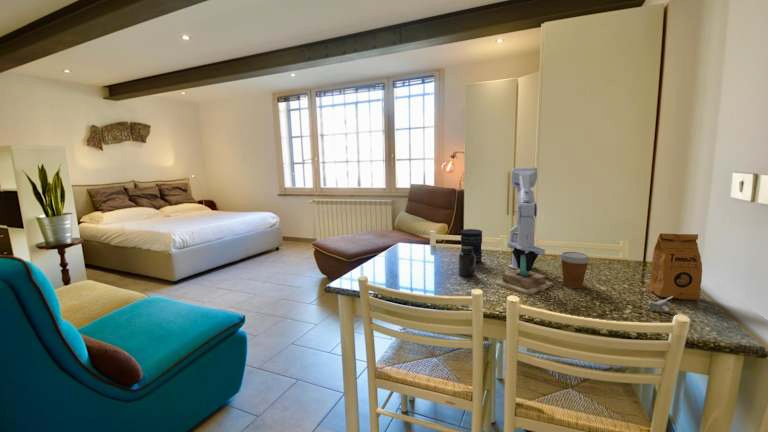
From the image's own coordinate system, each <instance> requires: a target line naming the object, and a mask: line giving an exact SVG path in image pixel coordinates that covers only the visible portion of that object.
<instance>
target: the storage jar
mask: <svg viewBox="0 0 768 432" xmlns="http://www.w3.org/2000/svg"><path fill="white" fill-rule="evenodd" d="M460 243H461V247H462V246H471V247H473V253H474V254H475V266H478V265H481V264H482V258H483V254H482V253H483V251H482V244H483V231H482V230H480V229H475V228H467V229H466V228H465V229H461V230H460ZM461 247H460V248H461ZM460 253H462V252H461V251H460Z"/></svg>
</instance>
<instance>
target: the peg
mask: <svg viewBox="0 0 768 432" xmlns="http://www.w3.org/2000/svg"><path fill="white" fill-rule="evenodd" d="M520 276H522V277H529V271H527V270H526V257H525V254H521V255H520Z"/></svg>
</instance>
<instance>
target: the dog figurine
mask: <svg viewBox="0 0 768 432" xmlns="http://www.w3.org/2000/svg"><path fill="white" fill-rule="evenodd" d="M671 299H674V298H673V296H671V297H669V298H665V299H660V300H658V301H652V300H650V299H649V298H647V300H648V302H647V305H648V307H647V310H648V311H649V310H653V309H657V308H659V311H661V313H663V312H669V311H670V309H671V304H669V303H668V301H670V300H671Z"/></svg>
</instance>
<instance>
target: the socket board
mask: <svg viewBox="0 0 768 432" xmlns="http://www.w3.org/2000/svg"><path fill="white" fill-rule="evenodd" d="M494 284H495V285H497V286H500V287H503V288H506V289H507V290H511V291H514V292H517V293H520V294H523V295H525V296H529V295H531V294H535V293H537V292H540V291H543V290H546V289H548V288H550V287H553V286H554V282H550V281H548V280H547V275H545V274H542V273H538V272H535V271H532V270H531V271H529V277H522V276H520V269H518V270H517V269H514V270H511V271H508V272H504V273H502V279H499V280H495V281H494Z"/></svg>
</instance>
